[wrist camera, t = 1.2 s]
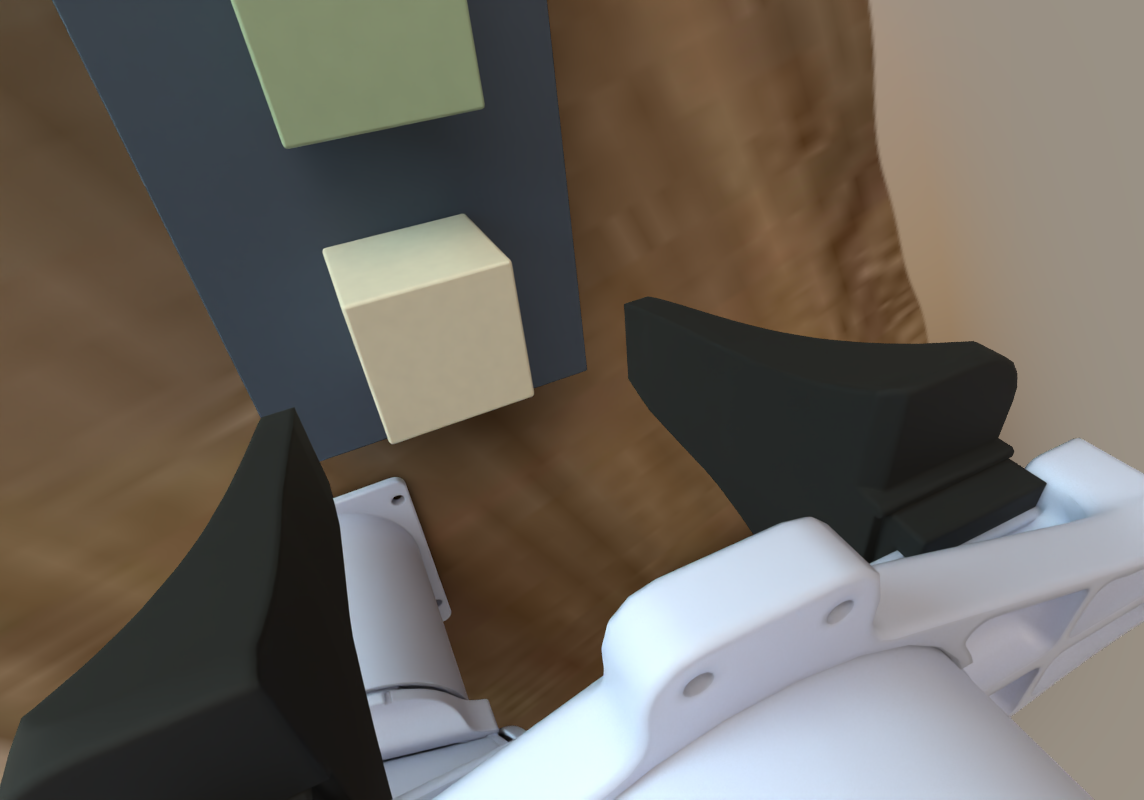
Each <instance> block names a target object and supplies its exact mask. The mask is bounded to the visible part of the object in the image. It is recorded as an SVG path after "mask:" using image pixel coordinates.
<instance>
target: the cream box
mask: <svg viewBox="0 0 1144 800" xmlns="http://www.w3.org/2000/svg"><path fill="white" fill-rule="evenodd" d="M322 253H323V256H324V259H325V262H326V265H327V268H328V271H329V274H330V277H331V279H332V282H333V285H334V288H335V291H336V294H337V297H338V300H339V303H340V306H341V309H342V312H343V315H344V318H345V320H346V323H347V326H348V329H349V332H350V334H351V337H352V340H353V343H354V346H355V348H356V351H357V354H358V357H359V359H360V362H361V365H362V368H363V371H364V373H365V376H366V379H367V382H368V385H369V387H370V390H371V393H372V396H373V398H374V401H375V404H376V407H377V410H378V412H379V415H380V418H381V421H382V424H383V426H384V429H385V432H386V435H387V438H388V440H389V442H390V443H391V444H396V443H399V442H402V441H405V440H408V439H411V438H413V437H416V436H419V435H422V434H425V433H428V432H431V431H434V430H437V429H440V428H442V427H445V426H448V425H451V424H454V423H457V422H460V421H463V420H466V419H469V418H471V417H474V416H477V415H480V414H483V413H486V412H489V411H492V410H495V409H498V408H500V407H503V406H506V405H509V404H512V403H515V402H518V401H521V400H524V399H527V398H530V397H532V396H534V389H533V383H532V377H531V371H530V365H529V360H528V354H527V348H526V342H525V336H524V331H523V325H522V319H521V313H520V307H519V302H518V296H517V290H516V284H515V278H514V273H513V267H512V262H511V260H510V259H509V258H508V257H507V256H506V255H505V254H504V253H503V252H502V251H501V250H500V249H499V248H498V247H497V246H496V245H495V244H494V243H493V242H492V241H491V240H490V239H489V238H488V237H487V236H486V235H485V234H484V233H483V232H482V231H481V230H480V229H479V228H478V227H477V226H476V225H475V224H474V223H473V222H472V221H471V220H470V219H469V218H468V217H467V216H466V215H465V214H459V215H455V216H451V217H447V218H443V219H439V220H435V221H431V222H427V223H423V224H419V225H415V226H411V227H407V228H403V229H399V230H395V231H391V232H387V233H383V234H379V235H375V236H371V237H367V238H363V239H359V240H355V241H351V242H347V243H343V244H339V245H335V246H331V247H327V248H324V249H323V252H322Z"/></svg>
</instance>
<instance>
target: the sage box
mask: <svg viewBox="0 0 1144 800" xmlns="http://www.w3.org/2000/svg"><path fill="white" fill-rule="evenodd" d="M231 3H232V6H233V8H234V11H235V14H236V17H237V20H238V22H239V25H240V28H241V31H242V33H243V36H244V39H245V42H246V45H247V47H248V50H249V53H250V56H251V59H252V61H253V64H254V67H255V70H256V72H257V75H258V78H259V81H260V84H261V86H262V89H263V92H264V95H265V98H266V100H267V103H268V106H269V109H270V111H271V114H272V117H273V120H274V123H275V125H276V128H277V131H278V134H279V137H280V139H281V142H282V145H283V146H284V148H286V149H291V148H296V147H301V146H306V145H311V144H315V143H320V142H325V141H330V140H335V139H340V138H345V137H349V136H354V135H359V134H364V133H369V132H374V131H379V130H383V129H388V128H393V127H398V126H403V125H408V124H413V123H417V122H422V121H427V120H432V119H437V118H442V117H447V116H451V115H456V114H461V113H466V112H471V111H476V110H481V109H483V108H484V106H485V103H484V97H483V91H482V86H481V80H480V74H479V68H478V62H477V56H476V51H475V45H474V39H473V33H472V27H471V22H470V16H469V10H468V4H467V0H231Z"/></svg>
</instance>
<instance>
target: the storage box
mask: <svg viewBox="0 0 1144 800" xmlns="http://www.w3.org/2000/svg"><path fill="white" fill-rule="evenodd" d="M52 1H53V3H54V5H55V7H56V9H57V11H58V13H59V15H60V17H61V19H62V21H63V23H64V25H65V27H66V29H67V31H68V33H69V35H70V37H71V39H72V41H73V43H74V45H75V47H76V49H77V51H78V53H79V55H80V57H81V59H82V61H83V63H84V65H85V67H86V69H87V71H88V73H89V75H90V77H91V79H92V81H93V83H94V85H95V87H96V89H97V91H98V93H99V95H100V97H101V99H102V101H103V103H104V105H105V107H106V109H107V111H108V113H109V115H110V117H111V119H112V121H113V123H114V125H115V127H116V129H117V131H118V133H119V135H120V137H121V139H122V141H123V143H124V145H125V147H126V149H127V151H128V153H129V155H130V157H131V159H132V161H133V163H134V165H135V167H136V169H137V171H138V173H139V175H140V177H141V179H142V181H143V183H144V185H145V187H146V189H147V191H148V193H149V195H150V197H151V199H152V201H153V203H154V205H155V207H156V209H157V211H158V213H159V215H160V217H161V219H162V221H163V223H164V225H165V227H166V229H167V231H168V233H169V235H170V237H171V239H172V241H173V243H174V245H175V247H176V249H177V251H178V253H179V255H180V257H181V259H182V261H183V263H184V265H185V267H186V269H187V271H188V273H189V275H190V277H191V279H192V281H193V283H194V285H195V287H196V289H197V291H198V293H199V295H200V297H201V299H202V301H203V303H204V305H205V307H206V309H207V311H208V313H209V315H210V317H211V319H212V321H213V323H214V325H215V327H216V329H217V331H218V333H219V335H220V337H221V339H222V341H223V343H224V345H225V347H226V349H227V351H228V353H229V355H230V357H231V359H232V361H233V363H234V365H235V367H236V369H237V371H238V373H239V375H240V377H241V379H242V381H243V383H244V385H245V387H246V389H247V391H248V393H249V395H250V397H251V399H252V401H253V403H254V405H255V407H256V409H257V411H258V413H259V415H260V417H261V418H262V417H264V416H268V415H271V414H274V413H277V412H280V411H284V410H287V409H290V408H293V407H294V408H295V410H296V412H297V414H298V416H299V418H300V421H301V423H302V425H303V427H304V429H305V431H306V434H307V436H308V438H309V440H310V442H311V444H312V447H313V449H314V451H315V453H316V455H317V457H318V460H319V461H322V460H325V459H328V458H331V457H334V456H337V455H340V454H343V453H346V452H349V451H352V450H355V449H358V448H360V447H363V446H366V445H369V444H372V443H375V442H378V441H381V440H384V439H387V435H386V432H385V429H384V426H383V424H382V421H381V418H380V415H379V412H378V410H377V407H376V404H375V401H374V398H373V396H372V393H371V390H370V387H369V385H368V382H367V379H366V376H365V373H364V371H363V368H362V365H361V362H360V359H359V357H358V354H357V351H356V348H355V346H354V343H353V340H352V337H351V334H350V332H349V329H348V326H347V323H346V320H345V318H344V315H343V312H342V309H341V306H340V303H339V300H338V297H337V294H336V291H335V288H334V285H333V282H332V279H331V277H330V274H329V271H328V268H327V265H326V262H325V259H324V256H323V253H322V252H323V249H324V248H327V247H331V246H335V245H339V244H343V243H347V242H351V241H355V240H359V239H363V238H367V237H371V236H375V235H379V234H383V233H387V232H391V231H395V230H399V229H403V228H407V227H411V226H415V225H419V224H423V223H427V222H431V221H435V220H439V219H443V218H447V217H451V216H455V215H459V214H465V215H466V216H467V217H468V218H469V219H470V220H471V221H472V222H473V223H474V224H475V225H476V226H477V227H478V228H479V229H480V230H481V231H482V232H483V233H484V234H485V235H486V236H487V237H488V238H489V239H490V240H491V241H492V242H493V243H494V244H495V245H496V246H497V247H498V248H499V249H500V250H501V251H502V252H503V253H504V254H505V255H506V256H507V257H508V258H509V259H510V260H511V262H512V267H513V273H514V278H515V284H516V290H517V296H518V302H519V307H520V313H521V319H522V325H523V331H524V336H525V342H526V348H527V354H528V360H529V365H530V371H531V377H532V383H533V388H536V387H539V386H542V385H545V384H548V383H551V382H554V381H557V380H560V379H563V378H566V377H569V376H572V375H575V374H577V373H580V372H583V371H586V370H587V365H586V356H585V347H584V337H583V328H582V319H581V310H580V301H579V291H578V282H577V273H576V264H575V255H574V246H573V236H572V227H571V218H570V209H569V200H568V190H567V181H566V172H565V163H564V154H563V145H562V135H561V126H560V117H559V108H558V99H557V90H556V80H555V71H554V62H553V53H552V44H551V34H550V25H549V16H548V7H547V0H467V4H468V10H469V16H470V22H471V27H472V33H473V39H474V45H475V51H476V56H477V62H478V68H479V74H480V80H481V86H482V91H483V97H484V103H485V106H484V108H483V109H481V110H476V111H471V112H466V113H461V114H456V115H451V116H447V117H442V118H437V119H432V120H427V121H422V122H417V123H413V124H408V125H403V126H398V127H393V128H388V129H383V130H379V131H374V132H369V133H364V134H359V135H354V136H349V137H345V138H340V139H335V140H330V141H325V142H320V143H315V144H311V145H306V146H301V147H296V148H291V149H286V148H284V146H283V145H282V142H281V139H280V137H279V134H278V131H277V128H276V125H275V123H274V120H273V117H272V114H271V111H270V109H269V106H268V103H267V100H266V98H265V95H264V92H263V89H262V86H261V84H260V81H259V78H258V75H257V72H256V70H255V67H254V64H253V61H252V59H251V56H250V53H249V50H248V47H247V45H246V42H245V39H244V36H243V33H242V31H241V28H240V25H239V22H238V20H237V17H236V14H235V11H234V8H233V6H232V3H231V0H52Z"/></svg>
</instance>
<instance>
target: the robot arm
mask: <svg viewBox="0 0 1144 800" xmlns="http://www.w3.org/2000/svg"><path fill="white" fill-rule="evenodd" d="M624 311H625V328H626V346H627V363H628V379H629V380H630V382H631V383H632V385H633V387H634V388H635V390H636V391H637V393H638V394H639V396H640V397H641V399H642V400H643V401H644V403H645V404H646V406H647V407H648V409H649V410H650V411H651V412H652V413H653V415H654V416H655V417H656V418H657V419H658V420H659V421H660V422H661V423H662V424H663V426H664V427H665V428H666V429H667V430H668V431H669V432H670V433H671V434H672V435H673V436H674V437H675V438H676V440H677V441H678V442H679V443H680V444H681V445H682V446H683V447H684V448H685V449H686V450H687V451H688V452H689V453H690V454H691V455H692V457H693V458H694V459H695V460H696V461H697V462H698V463H699V464H700V465H701V466H702V467H703V468H704V469H705V470H706V472H707V473H708V474H709V475H710V476H711V477H712V479H713V480H714V481H715V482H716V483H717V484H718V486H719V487H720V488H721V490H722V491H723V492H724V494H725V495H726V497H727V498H728V499H729V501H730V502H731V503H732V505H733V506H734V507H735V509H736V510H737V511H738V513H739V514H740V516H741V517H742V518H743V520H744V521H745V523H746V524H747V526H748V527H749V529H750V530H751V531H752V533H753V534H754V535H752V536H750V537H748V538H746V539H743V540H741V541H739V542H737V543H735V544H732V545H730V546H728V547H726V548H723V549H721V550H719V551H717V552H715V553H712V554H710V555H708V556H706V557H703V558H701V559H699V560H697V561H695V562H692V563H690V564H688V565H686V566H683V567H681V568H679V569H677V570H675V571H672V572H670V573H668V574H666V575H663V576H661V577H659V578H657V579H655V580H653V581H652V582H650V583H649V584H647V585H646V586H644V587H643V588H641V589H640V590H638V591H636V592H635V593H633V594H632V595H630V596H629V597H628V598H627V599H626V600H625V602H624V603H623V604H622V605H621V606H620V608H619V609H618V610H617V611H616V612H615V614H614V615H613V616H612V617H611V618H610V620H609V622H608V625H607V628H606V632H605V636H604V640H603V644H602V648H601V649H602V657H603V665H604V676H602V677H601V678H599V679H598V680H596V681H595V682H594V683H592V684H591V685H590V686H588V687H587V688H585V689H584V690H583V691H581V692H580V693H578V694H577V695H576V696H574V697H573V698H572V699H570V700H569V701H567V702H566V703H565V704H563V705H562V706H560V707H559V708H558V709H556V710H555V711H554V712H552V713H551V714H549V715H548V716H547V717H545V718H544V719H542V720H541V721H540V722H538V723H537V724H536V725H534V726H533V727H531V728H530V729H529V730H527V731H525V730H524V729H523V728H521V727H518V726H506V727H502V728H498V726H497V723H496V720H495V717H494V714H493V712H492V709H491V706H490V703H489V700H488V699H480V700H469V699H468V696H467V693H466V690H465V687H464V684H463V681H462V678H461V675H460V672H459V669H458V666H457V663H456V660H455V657H454V654H453V651H452V648H451V644H450V641H449V638H448V635H447V632H446V629H445V626H444V623H443V621H445V620H447V619H448V618H449V617H450V615H451V609H450V606H449V603H448V601H447V598H446V595H445V592H444V589H443V587H442V584H441V581H440V578H439V575H438V573H437V570H436V567H435V564H434V561H433V559H432V556H431V553H430V550H429V547H428V545H427V542H426V539H425V536H424V533H423V531H422V528H421V525H420V522H419V519H418V517H417V514H416V511H415V508H414V505H413V503H412V500H411V497H410V494H409V491H408V489H407V486H406V483H405V481H404V480H403V479H402V478H400V477H392V478H388V479H386V480H383V481H380V482H377V483H375V484H372V485H369V486H366V487H363V488H361V489H358V490H355V491H352V492H349V493H347V494H344V495H341V496H338V497H336V498H333V496H332V492H331V488H330V484H329V481H328V479H327V477H326V475H325V473H324V471H323V468H322V466H321V464H320V462H319V460H318V457H317V455H316V453H315V451H314V449H313V447H312V444H311V442H310V440H309V438H308V436H307V434H306V431H305V429H304V427H303V425H302V423H301V421H300V418H299V416H298V414H297V412H296V410H295V408H294V407H293V408H290V409H287V410H284V411H280V412H277V413H274V414H271V415H268V416H264V417H262V418H261V420H260V421H259V423H258V425H257V427H256V430H255V432H254V434H253V437H252V439H251V441H250V444H249V446H248V448H247V450H246V453H245V455H244V457H243V459H242V461H241V464H240V466H239V468H238V470H237V472H236V474H235V476H234V478H233V480H232V482H231V484H230V486H229V488H228V490H227V492H226V493H225V495H224V497H223V499H222V501H221V502H220V504H219V506H218V507H217V509H216V511H215V513H214V514H213V516H212V518H211V519H210V521H209V523H208V525H207V526H206V528H205V529H204V531H203V532H202V534H201V535H200V537H199V538H198V540H197V541H196V543H195V544H194V545H193V547H192V548H191V550H190V551H189V552H188V554H187V555H186V556H185V558H184V559H183V560H182V562H181V563H180V564H179V566H178V567H177V568H176V569H175V571H174V572H173V573H172V574H171V575H170V576H169V578H168V579H167V580H166V581H165V582H164V583H163V585H162V586H161V587H160V588H159V589H158V590H157V592H156V593H155V594H154V595H153V596H152V597H151V599H150V600H149V601H148V602H147V603H146V604H145V605H144V607H143V608H142V609H141V610H140V611H139V612H138V613H137V614H136V615H135V616H134V617H133V618H132V619H131V620H130V621H129V622H128V623H127V624H126V626H125V627H124V628H123V629H122V630H121V631H120V632H119V633H118V634H117V635H116V636H115V637H114V638H112V639H111V640H110V641H109V642H108V643H107V644H106V645H105V646H104V647H103V648H102V649H101V650H100V651H99V652H98V653H97V654H96V655H95V656H94V657H93V658H91V659H90V660H89V661H88V662H87V663H86V664H85V665H84V666H83V667H82V668H81V669H79V670H78V671H77V672H76V673H75V674H73V675H72V676H71V677H70V678H69V679H68V680H66V681H65V682H64V683H63V684H62V685H61V686H59V687H58V688H57V689H56V690H55V691H54V692H52V693H51V694H50V695H49V696H48V697H47V698H45V699H44V700H43V701H42V702H41V703H39V704H38V705H37V706H36V707H35V708H34V709H32V710H31V711H30V712H29V713H27V714H26V715H25V716H24V717H22V718H21V721H20V724H19V726H18V729H17V732H16V735H15V738H14V740H13V743H12V746H11V749H10V752H9V755H8V759H7V763H6V767H5V770H4V774H3V778H2V782H1V785H0V800H1094V799H1093V798H1092V797H1091V796H1090V795H1089V794H1088V793H1087V792H1086V791H1085V790H1084V789H1083V788H1082V787H1081V786H1080V785H1079V784H1078V783H1077V782H1076V781H1075V780H1074V779H1073V778H1072V777H1071V776H1070V775H1069V774H1068V773H1067V772H1066V771H1065V770H1064V769H1063V768H1061V767H1060V766H1059V765H1058V764H1057V763H1056V762H1055V761H1054V760H1053V759H1052V758H1051V757H1050V756H1049V755H1048V754H1047V753H1046V752H1045V751H1044V750H1043V749H1042V748H1041V747H1040V746H1039V745H1038V744H1037V743H1036V742H1035V741H1034V740H1033V739H1032V738H1031V737H1030V736H1029V735H1028V734H1027V733H1026V732H1025V731H1024V730H1022V729H1021V728H1020V727H1019V726H1018V725H1017V724H1016V723H1015V722H1014V721H1013V720H1012V719H1011V718H1010V717H1011V716H1013V715H1014V714H1015V713H1017V712H1018V711H1019V710H1021V709H1022V708H1023V707H1025V706H1026V705H1027V704H1029V703H1030V702H1031V701H1032V700H1034V699H1035V698H1037V697H1038V696H1039V695H1041V694H1042V693H1043V692H1045V691H1046V690H1047V689H1049V688H1050V687H1051V686H1053V685H1054V684H1055V683H1057V682H1058V681H1059V680H1061V679H1062V678H1063V677H1065V676H1066V675H1067V674H1069V673H1070V672H1072V671H1073V670H1074V669H1076V668H1077V667H1078V666H1080V665H1081V664H1083V663H1084V662H1085V661H1087V660H1088V659H1089V658H1091V657H1092V656H1094V655H1095V654H1096V653H1098V652H1099V651H1101V650H1102V649H1104V648H1105V647H1107V646H1108V645H1110V644H1111V643H1113V642H1114V641H1115V640H1117V639H1118V638H1120V637H1121V636H1123V635H1124V634H1126V633H1127V632H1129V631H1131V630H1132V629H1133V628H1135V627H1137V626H1138V625H1140V624H1141V623H1143V622H1144V473H1142V472H1140V471H1138V470H1137V469H1135V468H1133V467H1131V466H1129V465H1128V464H1126V463H1124V462H1122V461H1120V460H1119V459H1117V458H1115V457H1113V456H1111V455H1110V454H1108V453H1106V452H1105V451H1103V450H1101V449H1099V448H1097V447H1096V446H1094V445H1092V444H1090V443H1088V442H1087V441H1085V440H1083V439H1081V438H1075V439H1072V440H1070V441H1068V442H1065V443H1063V444H1061V445H1059V446H1057V447H1055V448H1053V449H1051V450H1049V451H1047V452H1045V453H1043V454H1041V455H1039V456H1038V457H1036V458H1034V459H1033V460H1032V461H1031V462H1030V463H1029V464H1028V465H1027V466H1026V467H1025V469H1024V468H1023V467H1021V466H1020V465H1018V464H1017V463H1015V462H1013V461H1012V460H1010V459H1009V458H1010V457H1012V456H1013V453H1014V450H1013V447H1012V446H1010V445H1008V444H1007V443H1005V442H1003V441H1002V440H1000V439H999V438H998V437H999V435H1000V432H1001V430H1002V427H1003V424H1004V422H1005V419H1006V417H1007V414H1008V412H1009V409H1010V407H1011V404H1012V402H1013V399H1014V395H1015V392H1016V389H1017V371H1016V368H1015V366H1014V363H1013V362H1012V361H1010V360H1009V359H1008V358H1006V357H1004V356H1002V355H1001V354H999V353H996V352H995V351H993V350H991V349H989V348H987V347H985V346H983V345H981V344H979V343H977V342H974V341H969V342H948V343H927V344H882V343H861V342H849V341H838V340H828V339H819V338H812V337H806V336H800V335H794V334H788V333H782V332H777V331H773V330H768V329H764V328H760V327H756V326H752V325H748V324H744V323H740V322H736V321H733V320H729V319H726V318H722V317H719V316H715V315H712V314H709V313H705V312H702V311H699V310H696V309H692V308H689V307H686V306H683V305H679V304H676V303H673V302H669V301H666V300H662V299H658V298H653V297H645V298H642V299H639V300H635V301H632V302H629V303H626V304H624ZM398 495H401V496H402V497H401V498H399V499H393V498H394V497H395V496H398Z"/></svg>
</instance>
